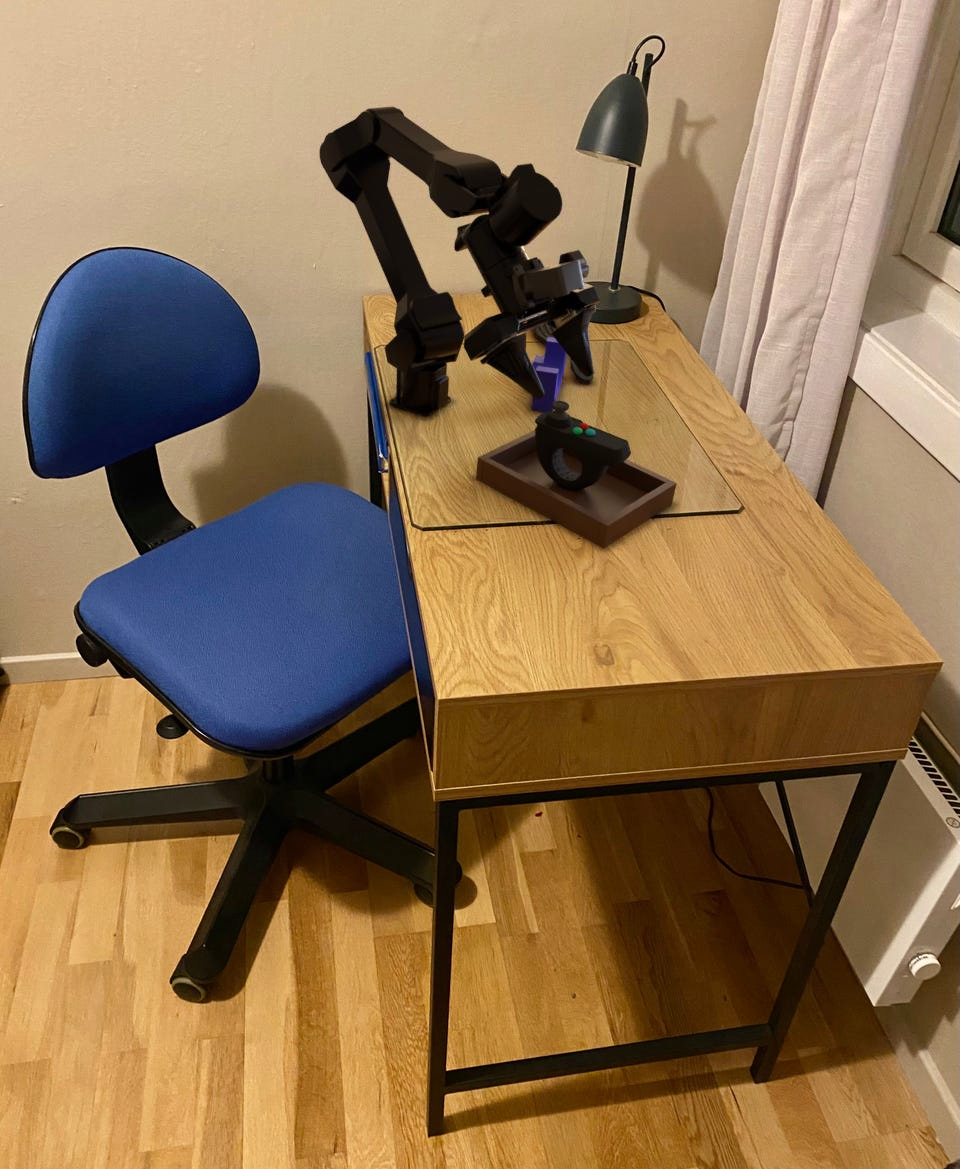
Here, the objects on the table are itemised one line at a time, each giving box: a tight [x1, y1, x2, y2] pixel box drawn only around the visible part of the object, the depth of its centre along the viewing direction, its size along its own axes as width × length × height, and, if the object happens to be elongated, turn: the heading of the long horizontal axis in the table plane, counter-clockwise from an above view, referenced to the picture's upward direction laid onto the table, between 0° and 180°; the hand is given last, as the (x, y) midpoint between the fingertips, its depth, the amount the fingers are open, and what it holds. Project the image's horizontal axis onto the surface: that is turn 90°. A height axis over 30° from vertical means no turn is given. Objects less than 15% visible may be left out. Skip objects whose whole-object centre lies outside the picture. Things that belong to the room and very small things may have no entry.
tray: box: [475, 429, 677, 549], centre depth 117 cm, size 20×14×3 cm
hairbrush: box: [532, 301, 595, 385], centre depth 151 cm, size 8×4×25 cm
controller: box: [534, 400, 632, 489], centre depth 115 cm, size 4×12×10 cm, turn 54°
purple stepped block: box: [531, 337, 567, 413], centre depth 138 cm, size 12×4×6 cm, turn 169°
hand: (566, 386), depth 112 cm, fingers open, 9 cm apart
